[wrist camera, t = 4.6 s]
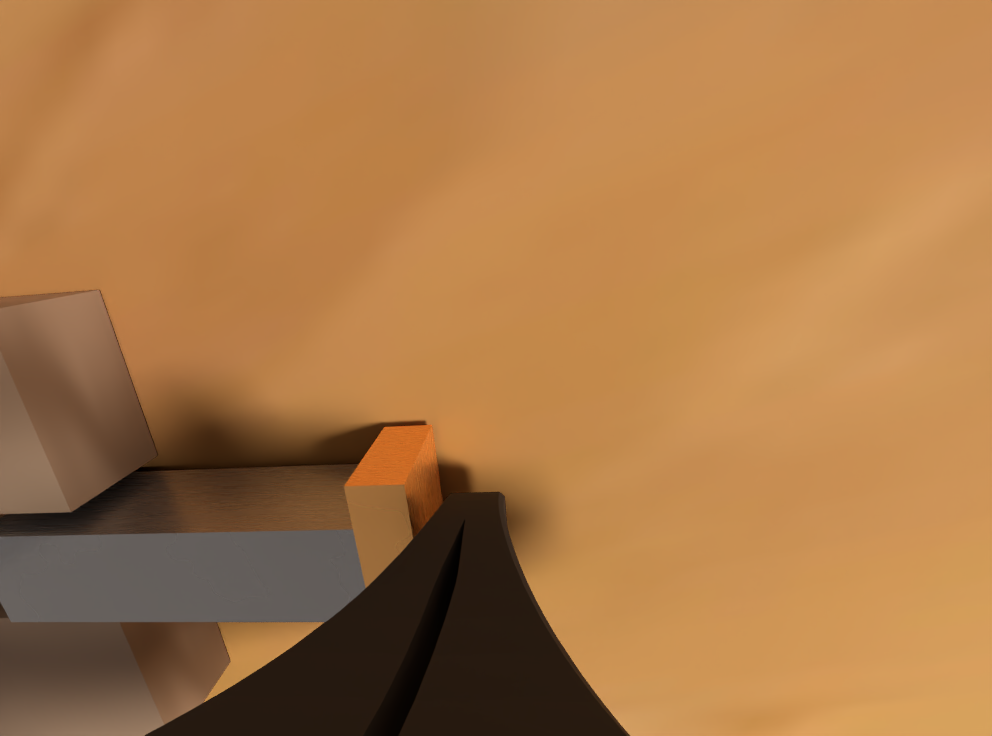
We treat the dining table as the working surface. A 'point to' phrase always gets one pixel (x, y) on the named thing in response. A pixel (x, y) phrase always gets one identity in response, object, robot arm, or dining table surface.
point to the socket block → (63, 488)
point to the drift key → (223, 540)
